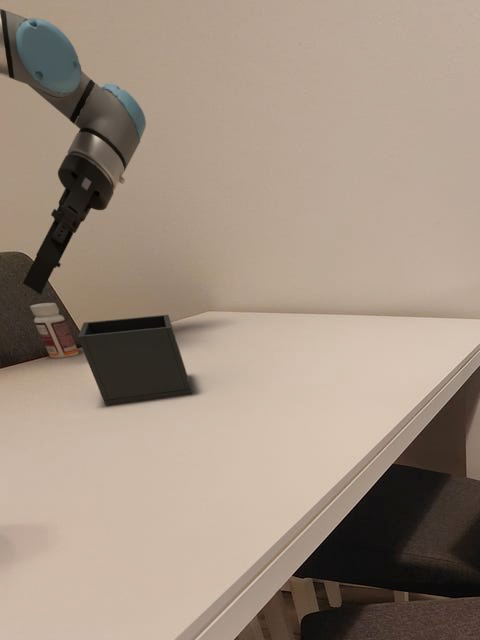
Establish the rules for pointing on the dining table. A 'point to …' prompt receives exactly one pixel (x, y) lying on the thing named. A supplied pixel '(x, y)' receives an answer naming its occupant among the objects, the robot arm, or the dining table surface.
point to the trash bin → (134, 359)
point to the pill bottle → (54, 330)
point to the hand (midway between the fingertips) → (38, 275)
